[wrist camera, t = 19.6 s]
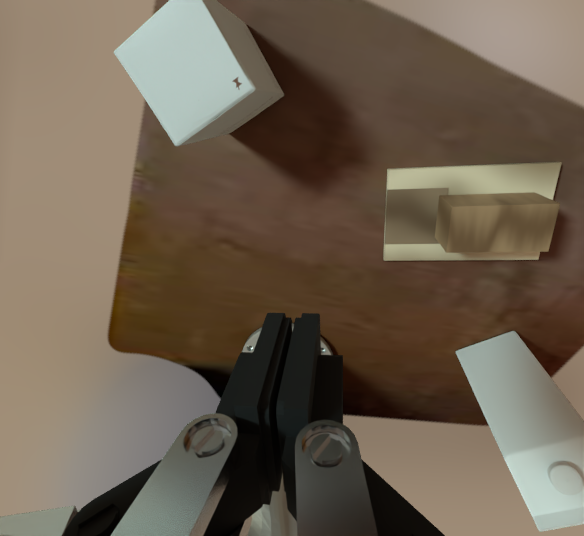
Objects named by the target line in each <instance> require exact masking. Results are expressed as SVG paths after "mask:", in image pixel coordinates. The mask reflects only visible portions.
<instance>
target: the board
mask: <svg viewBox="0 0 584 536" xmlns="http://www.w3.org/2000/svg"><path fill="white" fill-rule="evenodd" d="M560 167H561V162H543V163H519V164H495V165H470V166H446V167H422V168H398V169H387V190H386V211H385V233H384V254H383V259H384V261H413V260H538V259H539V255H540V252H469V253H446V252H445V250H444V249H443V248H442V246H441V245H440V244H439V242H438V241H437V240H436V238H435V230H436V221H437V211H438V202H439V195H467V194H497V193H528V192H535V193H537V194H540V195H542V196H544V197H546V198H549V199H551V200H553V197H554V193H555V188H556V184H557V180H558V176H559V172H560Z"/></svg>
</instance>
